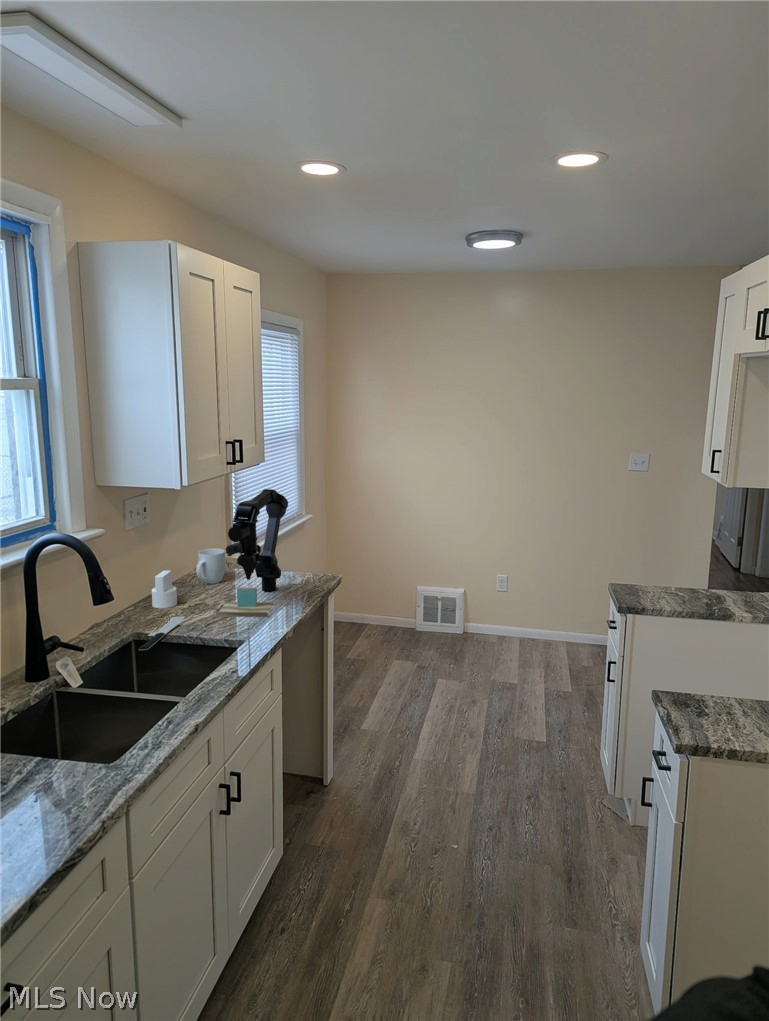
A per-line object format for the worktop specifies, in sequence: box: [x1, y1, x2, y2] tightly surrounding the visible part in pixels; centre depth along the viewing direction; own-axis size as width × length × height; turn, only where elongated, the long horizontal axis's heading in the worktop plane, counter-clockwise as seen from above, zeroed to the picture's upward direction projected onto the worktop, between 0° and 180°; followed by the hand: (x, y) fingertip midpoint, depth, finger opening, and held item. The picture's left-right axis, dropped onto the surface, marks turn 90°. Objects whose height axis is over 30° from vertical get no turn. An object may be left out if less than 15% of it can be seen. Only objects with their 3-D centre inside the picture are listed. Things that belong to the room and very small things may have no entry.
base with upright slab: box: [151, 570, 178, 609], centre depth 257 cm, size 9×9×12 cm
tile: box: [236, 586, 258, 607], centre depth 253 cm, size 2×7×7 cm, turn 91°
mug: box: [195, 548, 226, 585], centre depth 285 cm, size 15×11×13 cm
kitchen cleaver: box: [138, 615, 186, 652], centre depth 229 cm, size 31×2×10 cm
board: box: [215, 601, 274, 618], centre depth 250 cm, size 16×18×2 cm
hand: (250, 576), depth 258 cm, fingers open, 8 cm apart
